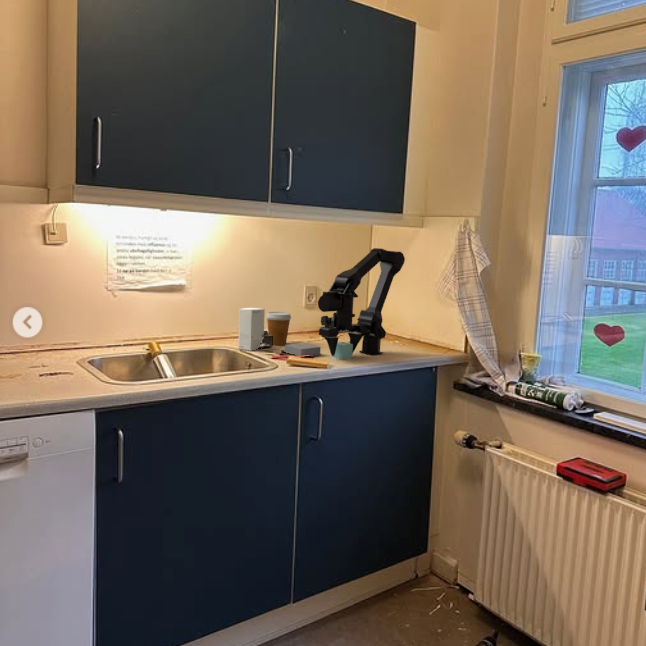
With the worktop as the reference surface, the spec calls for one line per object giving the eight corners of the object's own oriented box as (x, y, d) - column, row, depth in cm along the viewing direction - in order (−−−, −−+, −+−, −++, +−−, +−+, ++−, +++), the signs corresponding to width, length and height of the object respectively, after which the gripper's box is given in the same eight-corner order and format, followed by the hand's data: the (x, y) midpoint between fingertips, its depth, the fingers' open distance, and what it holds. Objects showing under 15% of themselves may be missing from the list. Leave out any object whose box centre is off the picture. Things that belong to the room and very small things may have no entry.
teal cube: (342, 355, 224) (342, 341, 224) (352, 358, 221) (352, 344, 220) (332, 357, 221) (332, 343, 220) (341, 359, 217) (342, 345, 217)
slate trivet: (303, 350, 229) (303, 342, 229) (320, 355, 223) (320, 346, 222) (284, 353, 223) (284, 344, 223) (300, 357, 216) (301, 349, 216)
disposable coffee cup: (292, 343, 243) (293, 312, 241) (286, 347, 234) (288, 315, 232) (268, 341, 245) (269, 310, 243) (262, 345, 235) (263, 313, 234)
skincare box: (250, 351, 223) (252, 310, 221) (237, 349, 226) (238, 308, 224) (264, 348, 230) (265, 308, 228) (250, 346, 233) (252, 306, 231)
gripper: (347, 306, 231) (344, 348, 233) (309, 308, 218) (307, 353, 220) (369, 310, 223) (366, 353, 225) (331, 313, 210) (328, 358, 212)
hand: (342, 354), depth 221 cm, fingers open, 9 cm apart
